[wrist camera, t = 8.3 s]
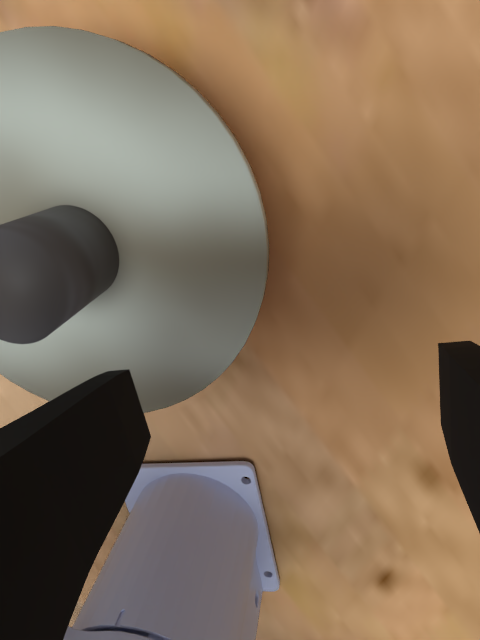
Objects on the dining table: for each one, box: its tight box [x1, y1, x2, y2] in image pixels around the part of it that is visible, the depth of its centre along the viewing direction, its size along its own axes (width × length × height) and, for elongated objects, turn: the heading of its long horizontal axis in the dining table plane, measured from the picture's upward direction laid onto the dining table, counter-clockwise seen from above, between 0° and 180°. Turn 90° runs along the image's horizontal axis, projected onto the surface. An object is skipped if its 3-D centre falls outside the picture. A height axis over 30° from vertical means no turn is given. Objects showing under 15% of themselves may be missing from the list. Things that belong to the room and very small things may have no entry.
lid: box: [0, 26, 269, 413], centre depth 14 cm, size 13×13×4 cm
